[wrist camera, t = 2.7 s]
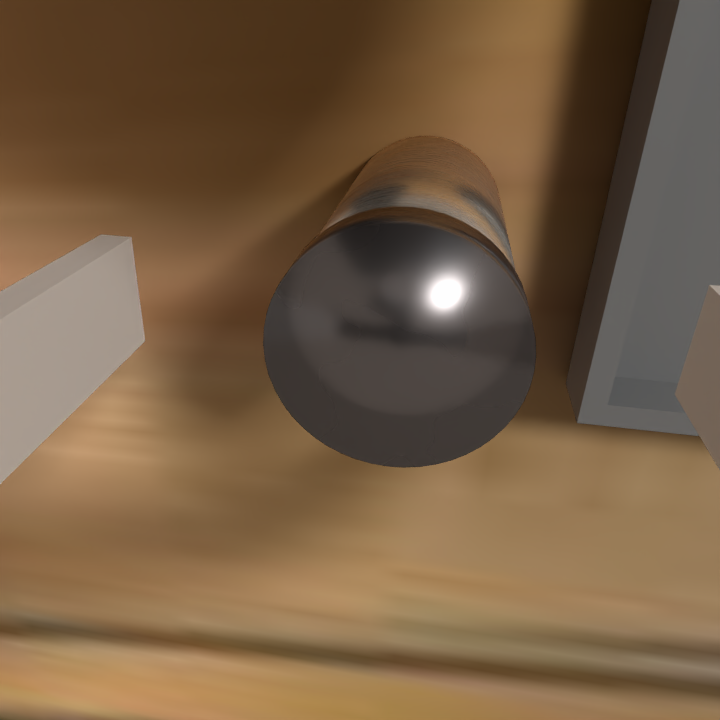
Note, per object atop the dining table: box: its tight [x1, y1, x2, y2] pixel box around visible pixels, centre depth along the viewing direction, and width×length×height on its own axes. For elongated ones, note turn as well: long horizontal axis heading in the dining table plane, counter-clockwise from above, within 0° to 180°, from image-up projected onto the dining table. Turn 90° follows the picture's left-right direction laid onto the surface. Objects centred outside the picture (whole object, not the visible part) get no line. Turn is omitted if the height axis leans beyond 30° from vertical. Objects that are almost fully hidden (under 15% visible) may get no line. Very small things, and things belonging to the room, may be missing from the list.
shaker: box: [263, 136, 536, 467], centre depth 17 cm, size 5×5×10 cm
